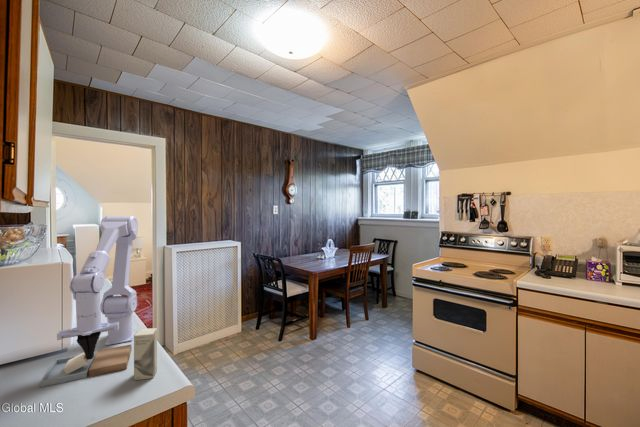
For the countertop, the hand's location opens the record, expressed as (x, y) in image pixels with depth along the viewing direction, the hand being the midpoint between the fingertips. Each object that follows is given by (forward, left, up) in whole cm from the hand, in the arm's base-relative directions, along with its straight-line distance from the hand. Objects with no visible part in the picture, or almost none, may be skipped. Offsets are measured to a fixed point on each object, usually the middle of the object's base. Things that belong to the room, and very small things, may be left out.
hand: (90, 357), depth 89 cm
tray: (0, -5, -3) cm, 5 cm away
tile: (0, -3, -2) cm, 3 cm away
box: (+12, +15, -3) cm, 20 cm away
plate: (0, +5, -3) cm, 6 cm away
